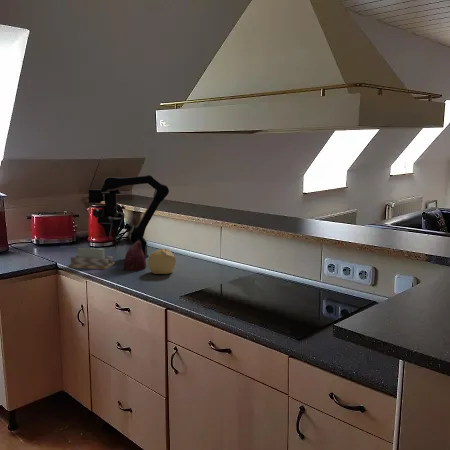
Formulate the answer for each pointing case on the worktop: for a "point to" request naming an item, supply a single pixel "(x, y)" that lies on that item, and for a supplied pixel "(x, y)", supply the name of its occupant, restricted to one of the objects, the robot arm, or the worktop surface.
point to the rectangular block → (91, 253)
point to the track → (91, 262)
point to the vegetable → (135, 258)
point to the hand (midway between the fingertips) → (111, 235)
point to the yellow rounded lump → (161, 262)
